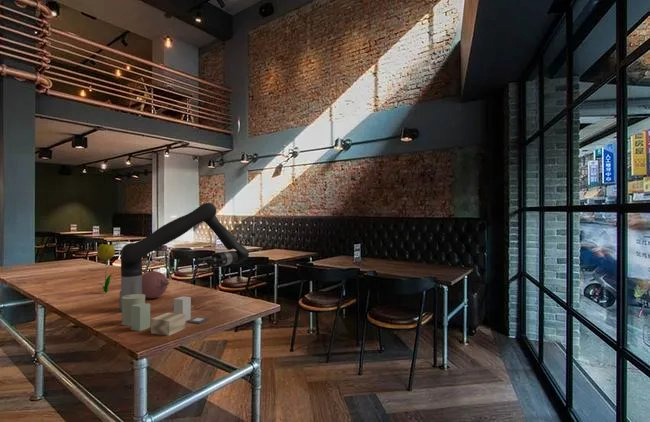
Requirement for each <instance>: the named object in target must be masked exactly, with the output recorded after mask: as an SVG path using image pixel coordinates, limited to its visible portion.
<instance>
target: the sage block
mask: <svg viewBox="0 0 650 422" xmlns="http://www.w3.org/2000/svg"><path fill="white" fill-rule="evenodd" d="M149 328H150V329H151V303H149V302H147V303H146V302H145V303H139V304H135V305H132V306H131V325H130V330H131V331H136V332H141V331H145V330H147V329H149Z"/></svg>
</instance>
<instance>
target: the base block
mask: <svg viewBox="0 0 650 422" xmlns="http://www.w3.org/2000/svg"><path fill="white" fill-rule="evenodd" d="M184 329H186V321H185V314H176V313H174V312H166V313H163V314H161V315H158V316H155V317H152V318H150V333H151V334H153V335H154V334H155V335H160V336H161V335H162V336H167V337H170V336H172V335H174V334H176V333H179V332H180V331H182V330H184Z"/></svg>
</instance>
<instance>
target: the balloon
mask: <svg viewBox="0 0 650 422" xmlns="http://www.w3.org/2000/svg"><path fill="white" fill-rule="evenodd" d="M169 284H170V280H169V279H168V278H167V277H166V275H164V274H163V273H162V272H161V271H156V270H152V271H151V270H150V271H148V272H145V273H144V274H142V294H144V295H145V299H150V300H151V299H156V298H159V297H161V296H163V294H164V293H165V292H166V290H167V288H168V286H169Z"/></svg>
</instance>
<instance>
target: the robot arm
mask: <svg viewBox="0 0 650 422" xmlns="http://www.w3.org/2000/svg"><path fill="white" fill-rule="evenodd" d="M216 213H217V207H216V206H215V204H213V203H211V202H204V203H202V204H201V205H200V206H199V207H197V208H196V209H194V210H192V211H190V212H189V213H187V214H185V215H183V216H179V217H178V218H175V219H173V220H171V221H169V222H167V223H166V224H163V225H162V226H160V227H159V228H157V229H156V230H155V231H153V232H152V233H151V234H149V235H148V236H146V237H145V238H142V239H141V240H139V241H136V242H131V243H127V244H125V245H124V246H123V247H122V248H121V250H120V290H119V307H118V308H119V311H120V312H122V297H123V296H126V295H131V294H142V275H143V264H142V263H143V262H142V261H143V258H144V257H145V256H147V255H148V254H150V253H152V252H153V251H154V250H156V249H158V248H161V247H162V246H165V245H166V244H169V243H171V242H173V241H174V240H176V239H179V237H181V236H183V235H184V234H186V233H187V232H189V231H190V230H191V229H193V228H194V227H196V225H197V226H198V224H201V223H203V222H204V223H205V224H206V225H207V226H208V227H209V228H210V229H211V230H212V232H213V233H214V234H215V235H216V237H217V238H218V239H219V240H220V242H221V244H222V245H223V246H224V247H225V248H226V250H228V251H221V252H215V253H213V254H212V256H209V257H200V258H196V259H195V260H193V266H197V265H203V266H207V267H212V266H213V267H214V268H222V267H226V266H228V265H239V264H240V263H242V262H244V261H245V260H247V259H248V258H249V257H250V254H249V251H248V249H247V248H246V247H245V246H243V244H241V243H239V242H238V241H237V240H236V239H235V237H234V235H232V233H231V232H230V231H229V230H228V229H227V227H225V226H224V225H223V224H222V223H221V222H220V220H219V219H218V218H217V216H216ZM230 250H231V251H230ZM233 250H235V251H233Z"/></svg>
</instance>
